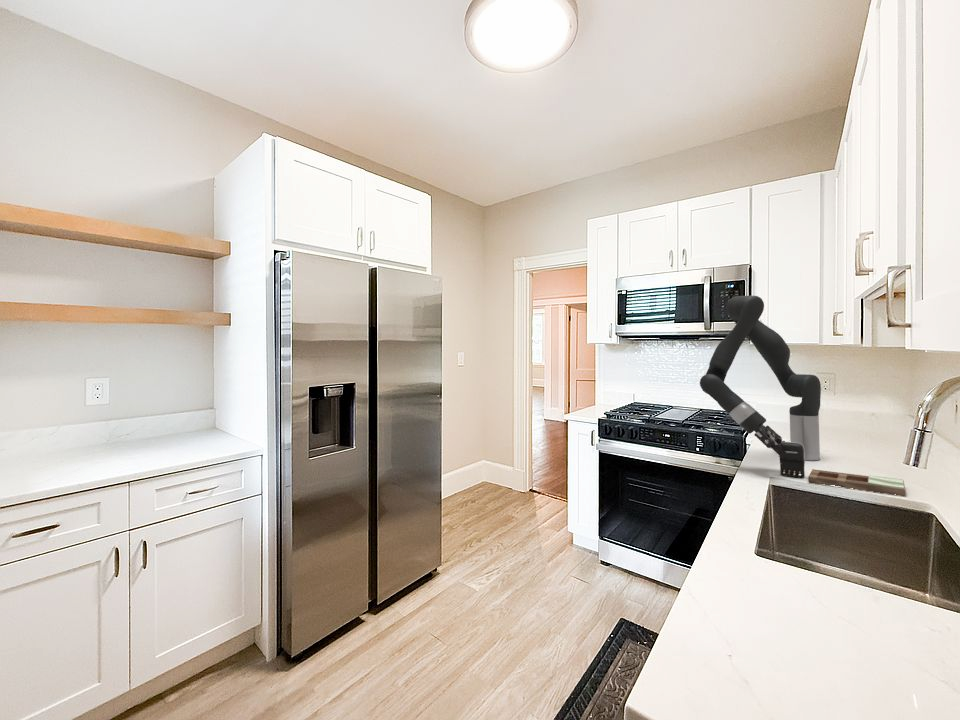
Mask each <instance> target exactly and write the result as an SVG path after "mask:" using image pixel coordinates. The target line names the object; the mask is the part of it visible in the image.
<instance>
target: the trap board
mask: <svg viewBox="0 0 960 720" xmlns="http://www.w3.org/2000/svg"><path fill="white" fill-rule="evenodd" d="M807 480H808V481H807V482H809V483H808V484H812V483H815V484H814V485H819V484H825V485H824V486H826V485H835V486H841V487H847V488H846V489H848V488H853V489H852V490H855V489H858V490H857V491H862V490H865V491H864V492H869V491H873V492H872V493H876V492H880V493H879V494H883V493H889V494H888V495H890V494H896V495H895V496H897V495H901V496H900V497H904V496H905V497H906V486H905V481H904V479H902V478H897V477H896V478H894V477H886V476H878V475H870V474H869V475H862V474H854V473H848V472H847V473H846V472H838V471H831V470H830V471H829V470H821V469H814V468H813V469H812V470H811V471H810V473H809V475H808V476H807Z"/></svg>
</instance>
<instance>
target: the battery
mask: <svg viewBox="0 0 960 720" xmlns="http://www.w3.org/2000/svg"><path fill="white" fill-rule="evenodd" d="M779 446H780V447H781V448H782V449H784V450H785V451H786V452H787V454H786V455H785V456H783V457H781V456H779V455H778V457H779V464H780V468H779V469H780V470H779V471H780V475H781V476H783V475H787V476H786V477H789V476H793V477H792V478H797V477H800V478H799V479H803V478H805V477H806V475H805V473H806V472H805V463H806V462H805V461H806V460H805V451H804V446H803V445H802V444H800V443H795V442H790V441H783V442H782V443H780V445H779Z"/></svg>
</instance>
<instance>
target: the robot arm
mask: <svg viewBox="0 0 960 720" xmlns="http://www.w3.org/2000/svg"><path fill="white" fill-rule="evenodd" d="M764 303H765V302H764V300H763V299H762V298H761V297H760V296H758V295H737V296H733V297H731V298H730V299H729V300H728V301H727V303H726V309H725V310H726V313H727V315H728V316H729V318H730V319H731V320H732V321H733V323H735V326H734V327H733V328H732V329H731V331H730V332H729V333H728V334H727V335H726V336H725V337H724V338H722V340H721V341H720V342H719V343H718V344H717V346H716V348H715V349H714V352H713V354H712V356H711V359H710V361H709V363H708V365H709V366H708V369H707V371H706V373H705V374H704V375H703V376H701V378H700V380H699V386H700V389H701V390H702V391H703V392H704V393H705V394H706V395H707V394H708V395H709V396H710V398H712V399H713V400H714V401H716V403H717V404H718V405H719V406H720V407H721V409H723V411H725V412H726V413H727V414H728V415H729V416H730V417H731V418H732V419H733V420H734V422H736V423H737V424H738V425H739V426H740V427H741V428H742V429H743V430H744V431H745V432H746V433H747V434H749V435H750V434H752V433H754V432H755V433H754V434H753V435H754V437H756V439H758V440H759V441H760V442H761V443H762V444H763V445H764V446H766V448H767V449H771V450H772V451H774V452H775V453H776V454H777V455H778V457H779V456H781V457H783V456H785V455H786V454H787V452H786V451H785V450H784V449H782V448H781V447H780V446H779V445H780V443H782V442H784V441H783V438H782V436H781V435H780V434H778V432H776V431H775V430H774V429H772V428H771V427H770V426H769V425H764V424H765V423H766V422H767V419H766V418H765V417H764V416H763V415H762V414H761V413H760V412H758V411H757V410H756V409H755V408H754V407H753V406H752V405H751V404H749V403H747V402H746V401H744V399H742V398H741V397H740V396H739V395H738V394H737V393H735V392H734V391H733V390H732V389H731V388H730V387H729V386H728V385H727V384H726V382H725V380H726V377H727V374H728V371H729V370H730V369H731V367H732V364H733V362H734V360H735V358H736V356H737V354H738V352H739V350H740V348H741V347H742V345H743V343H744V341H745V340H746V339H747V338H748V339H749V341H750V342H751V344H752V345H753V346H754V347H755V349H756V350H757V352H758V353H759V354H760V356H761V357H762V359H763V360H764V361H765V362H766V364H767V365H768V366H769V368H770V369H771V371H772V373H774V375H775V377H776V378H777V380H778V382H779V384H780V386H781V388H782V389H783V391H784V392H785V393H786V394H787V396H789V397H793V398H801V402H800V403H799V404H797V405H793V406H790V408H789V412H788V413H789V437H790V438H789V439H790V440H789V442H795V443H800V444H802V445H803V446H804V451H805V461H811V462H813V461H820V460H821V453H820V452H821V451H820V449H821V448H820V446H821V445H820V418H819V415H820V413H819V412H820V409H821V393H822V386H821V381H820V379H819V377H818V376H816V375H815V374H803V373H802V374H800V373H799V374H798V373H796V372H794V371H793V370H792V368H791V367H790V365H789V362H790V358H791V349H790V346H788V344H787V342H786V341H785V340H784V339H783V337H782V336H781V335H780V334H779V333H778V332H776V331H775V330H774V329H772V328H771V327H769V326H767V325H766V324H764V322H762V321H761V320H759V319H760V318H761V316H762V314H763V312H764V310H765V304H764Z"/></svg>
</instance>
